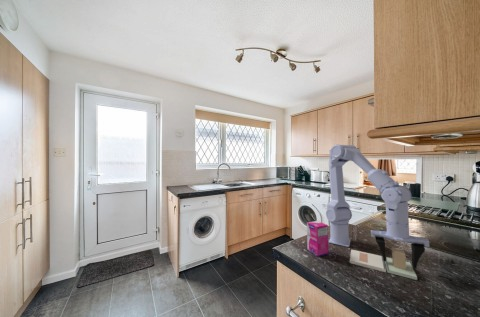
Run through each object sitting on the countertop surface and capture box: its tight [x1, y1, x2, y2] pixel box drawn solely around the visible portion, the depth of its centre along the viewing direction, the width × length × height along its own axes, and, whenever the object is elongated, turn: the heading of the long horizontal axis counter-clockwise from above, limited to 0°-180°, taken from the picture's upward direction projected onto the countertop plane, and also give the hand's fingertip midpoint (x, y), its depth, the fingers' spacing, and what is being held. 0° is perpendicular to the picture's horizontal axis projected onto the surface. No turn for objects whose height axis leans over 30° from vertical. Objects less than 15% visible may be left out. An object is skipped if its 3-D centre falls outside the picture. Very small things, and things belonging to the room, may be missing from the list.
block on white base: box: [384, 246, 418, 281], centre depth 60 cm, size 10×7×6 cm
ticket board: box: [349, 249, 387, 273], centre depth 65 cm, size 10×10×1 cm
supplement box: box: [306, 220, 330, 257], centre depth 72 cm, size 6×6×12 cm
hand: (398, 263), depth 60 cm, fingers open, 7 cm apart
